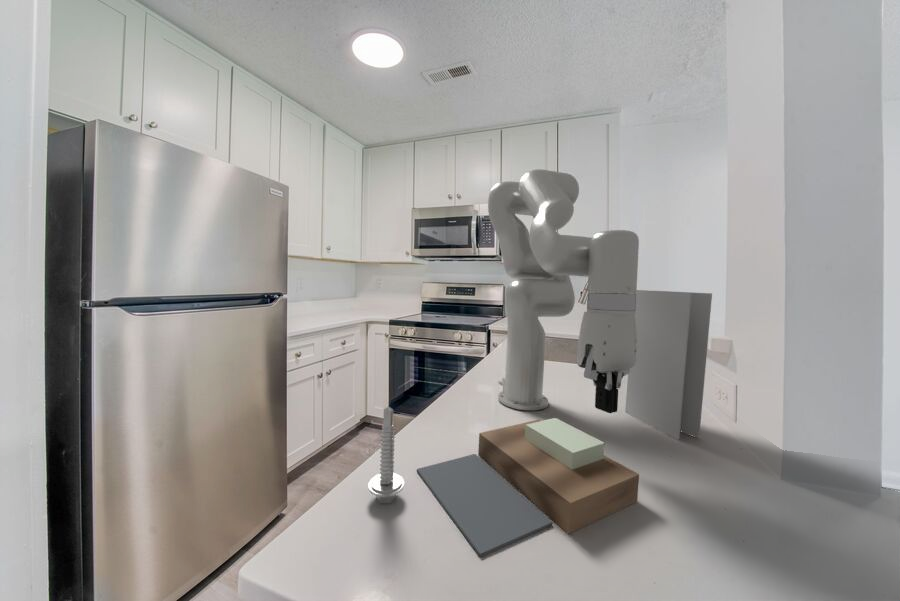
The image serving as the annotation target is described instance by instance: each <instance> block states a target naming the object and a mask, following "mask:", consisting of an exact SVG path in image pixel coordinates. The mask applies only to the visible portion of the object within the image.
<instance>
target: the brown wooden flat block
mask: <svg viewBox="0 0 900 601" xmlns="http://www.w3.org/2000/svg"><path fill="white" fill-rule="evenodd" d="M539 421H542V420H541V419H536V420H531V421H527V422H523V423H517V424H514V425H508V426H504V427H499V428H495V429H491V430H486V431H482V432H479V433H478V450H477V452H478V453H477V456H478V457H479V458H480V459H481V460H483V461H484V462H485V463H486V464H487V465H488V466H489V467H492V469H493V470H494V471H495V472H496V473H497V474H498V475H500V476H501V477H502V478H503V479H504V480H505V481H506V482H507V483H509V484H510V485H511V486H512V487H513V488H514V489H515V490H516V491H518V492H519V493H520V494H521V495H522V496H523V497H524V498H526V499H527V500H528V501H529V502H530V503H531V504H532V505H533V506H535V507H536V508H537V509H538V510H539V511H540V512H541V513H543V514H544V515H545V516H546V517H547V518H548V519H549V520H550V519H551V521H553V523H554V524H556V525H557V526H558V527H559V528H561V530H563V531H564V532H565V533H566V534H567V535H570V534H572V533H574V532H576V531H578V530H580V529H583V528H585V527H587V526H588V525H591V524H593V523H595V522H597V521H600V520H601V519H604V518H606V517H607V516H609V515H612V514H614V513H616V512H618V511H620V510H622V509H624V508H626V507H628V506H630V505H633V504H635V503H637V502H638V498H639V497H638V496H639V483H640V482H639V481H640V474H639V473H638V472H635V471H634V470H632V469H630V468H628V467H627V466H625V465H623V464H621V463H620V462H617V461H616V460H614V459H612V458H611V457H608V456H606V455H605V454H604V459H601V460H598V461H595V462H592V463H590V464H587V465H584V466H581V467H578V468H575V469H570V468H569V467H567V466H566V465H564V464H562V463H561V462H559V461H558V460H556V459H555V458H553V457H552V456H550V455H549V454H547V453H546V452H544V451H543V450H541V449H540V448H538V447H536V446H535V445H533V444H532V443H530V442H529V441H527V440H526V439H525V427H526V424H531V423H535V422H539Z"/></svg>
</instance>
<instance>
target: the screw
mask: <svg viewBox="0 0 900 601" xmlns="http://www.w3.org/2000/svg"><path fill="white" fill-rule="evenodd" d="M394 426H395V423H394V409H393V408H392V407H390V406H387V407H385V408H383V425H382V426H381V429H382V430H381V431H380V433H381V435H380V437H381V439H380V441H381V442H380V446H381V447H380V450H381V451H380V456H379V457H380V461H379V462H380V464H379V466H380V468H379V470H380V472H379V474H376V475H375V476H374V477H372V478H371V479H370V481H369V482H368V484H367V485H368V490H369V492H370V494H372V495H373V496H375V498H376V499H377V502H378V504H391V503H392V502H394V500H395V499H397V495H398V494H399V493H401V491H402V490H403V489H404V486H405V480H404V479H403V477H402V476H401V475H399V474H397V473H396V472H395V469H394V467H395V464H394V463H395V462H394V459H395V452H394V451H395V442H396V441H395V434H396V432H395V430H396V428H395V427H394Z"/></svg>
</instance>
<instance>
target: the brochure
mask: <svg viewBox="0 0 900 601" xmlns="http://www.w3.org/2000/svg"><path fill="white" fill-rule="evenodd" d="M712 300H713V293H711V292H710V293H709V292H707V293H706V292H693V291H692V292H687V291H666V290H665V291H664V290H643V289H641V290H640V289H637V291H636V310H635V311H636V313H635V322H636V360H635V365H634V366H633V367H632V368H630V372H629V374H627V383H626V398H625V408H624V409H625V410H624V412H625V413H626V414H628V415H630V416H632V417H634V418H635V419H636V420H639V421H641V422H643V423H645V424H646V425H649V426H650V425H651V427H652V426H653V428H654V427H655V429H656V428H657V429H656V430H658V431H660V432H662V433H664V434H665V435H668V436H669V435H670V437H671V436H672V438H673V439H675V440H677V441H679V440H680V435H681V433H682V432H684V433H683V434H685V433H687V434H686V435H688V434H690V435H689V436H691V435H693V436H692V437H694V436H695V437H694V438H697V437H699V438H700V434H701V421H702V410H703V400H704V388H705V378H706V366H707V357H708V356H707V355H708V345H709V343H708V342H709V336H710V335H709V333H710V331H709V330H710V321H711V320H710V319H711V310H712V309H711V308H712ZM680 431H682V432H680Z"/></svg>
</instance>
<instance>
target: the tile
mask: <svg viewBox="0 0 900 601" xmlns="http://www.w3.org/2000/svg"><path fill="white" fill-rule="evenodd" d="M525 439H526V440H527V441H529V442H530V443H532V444H533V445H535V446H536V447H538V448H540V449H541V450H543V451H544V452H546V453H547V454H549V455H550V456H552V457H553V458H555V459H556V460H558V461H559V462H561V463H562V464H564V465H566V466H567V467H569V468H570V469H575V468H578V467H581V466H584V465H587V464H590V463H592V462H595V461H598V460H601V459H604V455H605V442H604V441H602V440H600V439H598V438H596V437H594V436H592V435H590V434H588V433H586V432H584V431H582V430H580V429H578V428H576V427H574V426H572V425H570V424H568V423H566V422H564V421H562V420H560V419H559V418H556V417H553V418H547V419H544V420H541V421H539V422H535V423H531V424H526V427H525Z"/></svg>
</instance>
